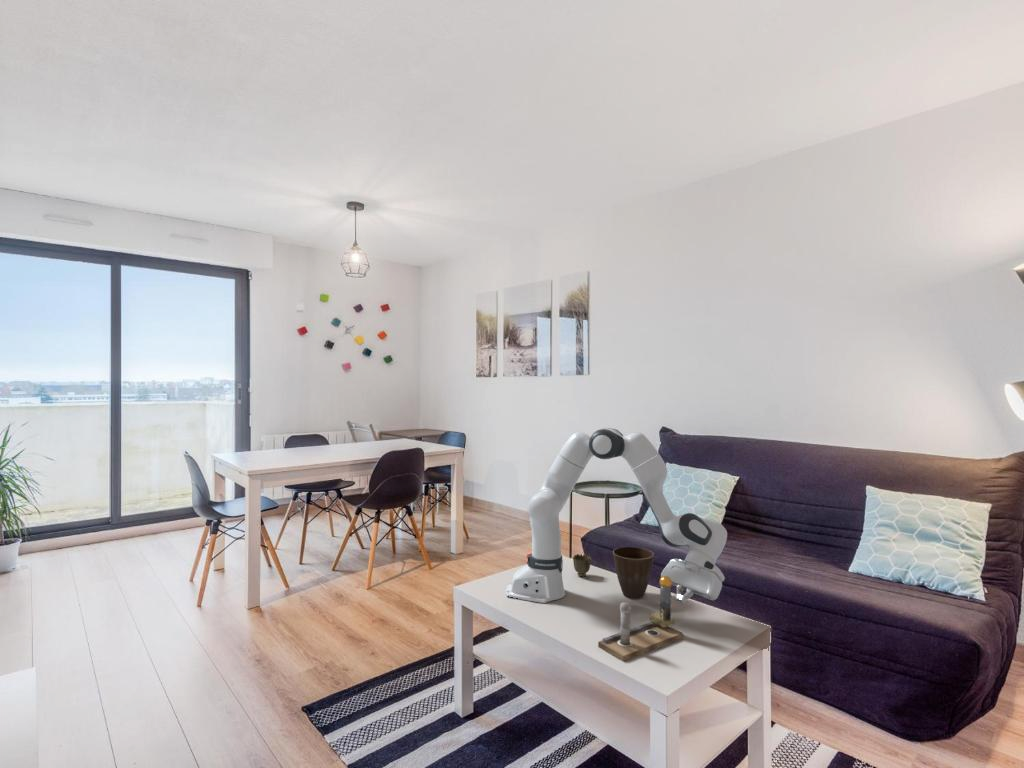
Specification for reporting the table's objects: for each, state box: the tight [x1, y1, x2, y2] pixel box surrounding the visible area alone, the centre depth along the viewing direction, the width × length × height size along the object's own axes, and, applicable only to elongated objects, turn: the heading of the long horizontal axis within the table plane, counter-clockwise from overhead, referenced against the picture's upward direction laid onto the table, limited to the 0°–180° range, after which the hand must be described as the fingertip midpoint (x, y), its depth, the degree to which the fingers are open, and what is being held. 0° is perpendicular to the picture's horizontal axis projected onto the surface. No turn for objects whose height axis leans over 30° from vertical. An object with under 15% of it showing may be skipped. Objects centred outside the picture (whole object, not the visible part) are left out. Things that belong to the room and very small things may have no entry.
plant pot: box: [612, 546, 655, 600], centre depth 191 cm, size 15×15×16 cm
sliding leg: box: [649, 576, 675, 627], centre depth 162 cm, size 4×6×16 cm
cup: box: [572, 553, 592, 578], centre depth 212 cm, size 8×7×8 cm
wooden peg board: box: [597, 601, 684, 662], centre depth 155 cm, size 26×10×13 cm, turn 124°
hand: (679, 601), depth 165 cm, fingers closed
